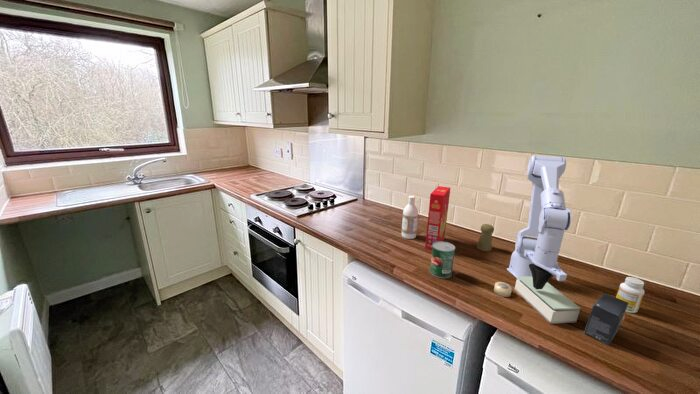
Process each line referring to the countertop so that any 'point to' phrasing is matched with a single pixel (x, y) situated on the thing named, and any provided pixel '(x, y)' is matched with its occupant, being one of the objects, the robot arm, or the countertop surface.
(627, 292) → the supplement bottle
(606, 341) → the box
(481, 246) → the olive pepper mill
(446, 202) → the food packaging
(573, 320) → the keepsake box
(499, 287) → the cream domed disc
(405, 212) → the bath foam
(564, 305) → the lid
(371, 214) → the countertop surface
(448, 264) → the canned tomato
